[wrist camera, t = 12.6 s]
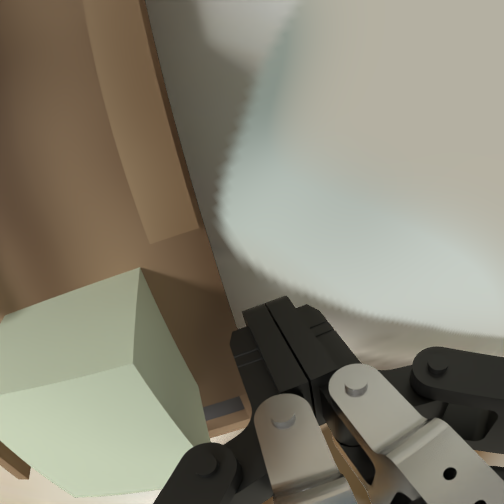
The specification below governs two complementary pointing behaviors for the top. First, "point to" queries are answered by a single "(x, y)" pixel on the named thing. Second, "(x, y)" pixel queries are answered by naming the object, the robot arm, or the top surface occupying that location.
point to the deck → (105, 184)
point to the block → (98, 390)
